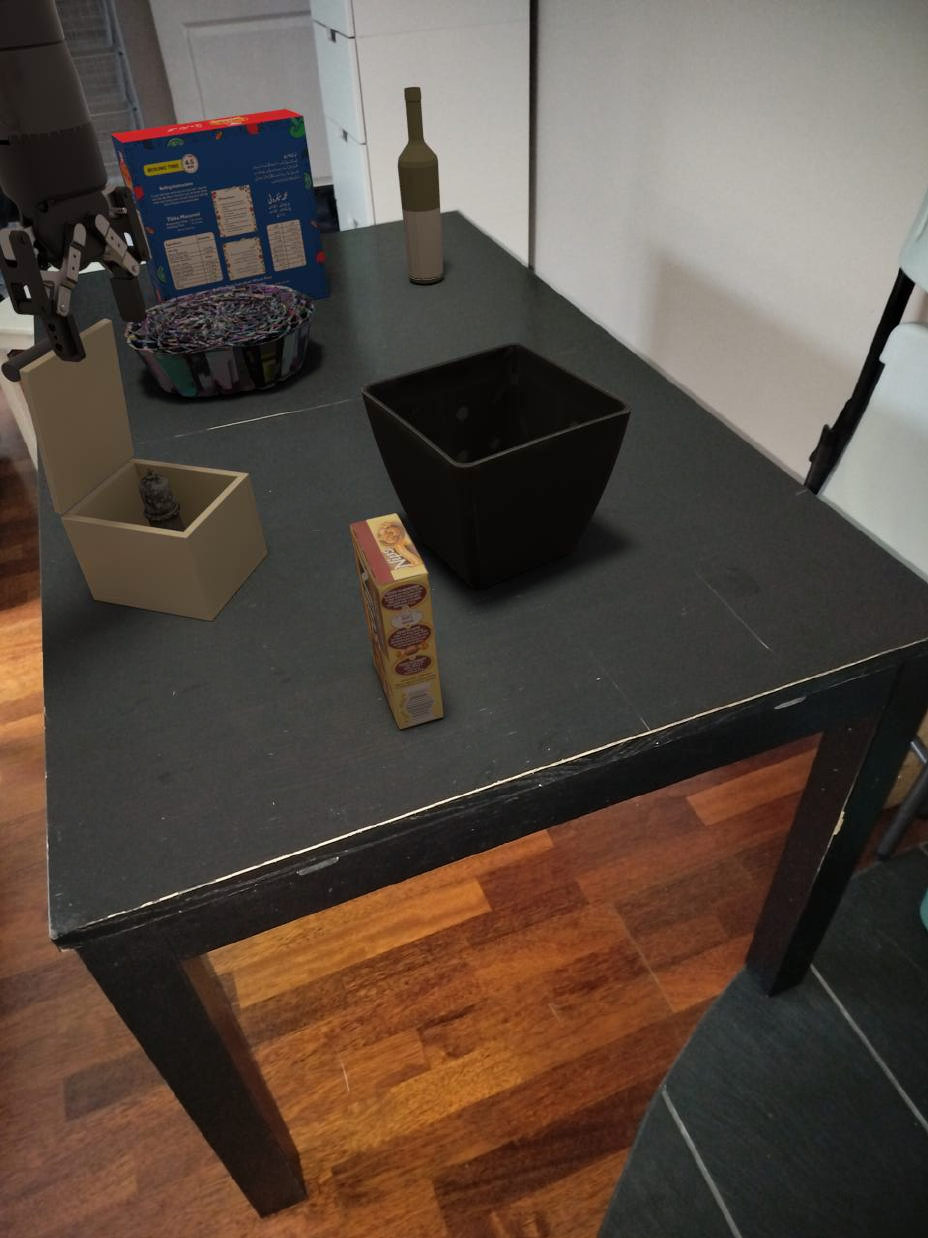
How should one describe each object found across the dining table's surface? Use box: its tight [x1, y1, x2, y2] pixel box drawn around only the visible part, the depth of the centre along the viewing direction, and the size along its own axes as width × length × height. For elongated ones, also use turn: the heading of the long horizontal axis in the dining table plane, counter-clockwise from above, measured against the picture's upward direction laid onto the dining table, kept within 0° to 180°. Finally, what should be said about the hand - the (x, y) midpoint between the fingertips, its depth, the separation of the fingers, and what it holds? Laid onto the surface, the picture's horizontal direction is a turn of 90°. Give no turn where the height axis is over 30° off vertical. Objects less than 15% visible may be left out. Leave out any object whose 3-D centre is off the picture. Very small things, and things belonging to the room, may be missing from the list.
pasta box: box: [110, 108, 330, 305], centre depth 141 cm, size 28×8×28 cm, turn 119°
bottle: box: [397, 86, 444, 285], centre depth 146 cm, size 7×7×30 cm
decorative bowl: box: [123, 284, 317, 399], centre depth 126 cm, size 26×28×10 cm
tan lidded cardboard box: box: [60, 457, 269, 622], centre depth 86 cm, size 14×12×10 cm
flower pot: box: [360, 341, 633, 589], centre depth 85 cm, size 19×19×17 cm
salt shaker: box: [138, 468, 189, 532], centre depth 84 cm, size 6×6×12 cm
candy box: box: [349, 512, 444, 730], centre depth 69 cm, size 9×4×15 cm, turn 20°
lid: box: [0, 318, 135, 515], centre depth 80 cm, size 14×12×5 cm
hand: (105, 339), depth 72 cm, fingers open, 8 cm apart
